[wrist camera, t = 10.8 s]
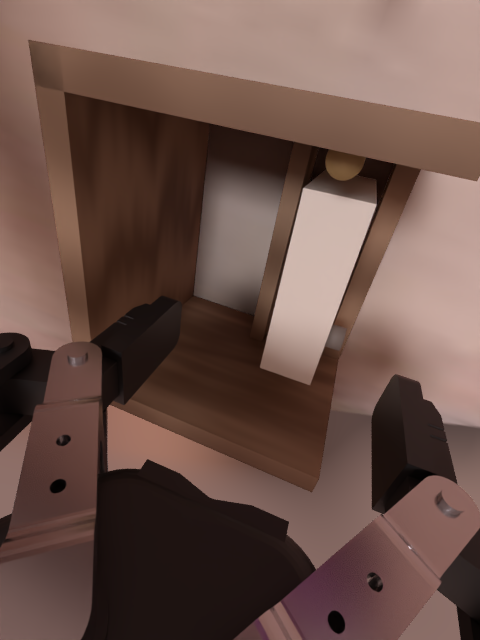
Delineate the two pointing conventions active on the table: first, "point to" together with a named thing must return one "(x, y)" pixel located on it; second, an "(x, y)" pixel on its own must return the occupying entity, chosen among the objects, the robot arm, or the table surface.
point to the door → (317, 273)
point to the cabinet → (184, 224)
